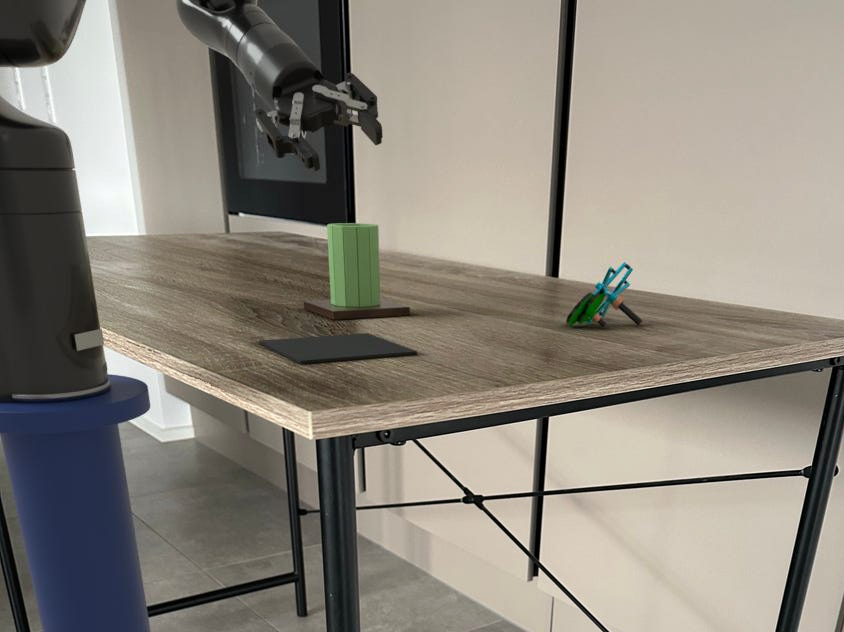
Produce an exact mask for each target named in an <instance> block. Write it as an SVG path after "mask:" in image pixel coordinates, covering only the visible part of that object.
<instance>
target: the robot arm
mask: <svg viewBox="0 0 844 632" xmlns="http://www.w3.org/2000/svg"><path fill="white" fill-rule="evenodd" d="M86 3H87V0H0V68H15V69H16V68H22V69H28V68H29V69H32V68H33V69H34V68H44V67H47V66H50V65H54V64H56V63H57V62H59V61H60V60H61V59H62V58H63V57H64V56H65V55H66V53H67V52H68V51H69V49H70V47H71V46H72V43H73V41H74V39H75V36H76V34H77V31H78V28H79V25H80V21H81V19H82V15H83V12H84V10H85V6H86ZM174 3H175V11H176V14H177V17H178V19H179V21H180V22H181V25H182V26H183V27H184V28H185V29H186V31H187V32H188V33H189V34H190V35H191V36H192V37H193V38H194V39H195V40H197V41H198V42H199V43H201V44H202V45H204V46H206V47H208V48H209V49H211V50H213V51H215V52H218V53H220V54H221V55H223V56H225V57H227V58H229V60H231V62H232V63H233V64H234V65H235V66H236V67H237V69H238V70H239V71H240V72H241V74H243V76H244V78H245V79H246V80H245V81H247V83H248V84H249V86H250V87H251V89H252V90H253V92H255V93H256V94H257V95H258V96H259V98H260V99H261V100H262V101H263V102H264V103H265V104H266V106H267V107H268V108H269V109H270V110H271V111H268V112H266V111H265V109H263V108H256V109H255V110H254V117H255V122H256V127H257V132H258V133H259V134H260V137H262V139H263V140H264V142H265V143H266V144H267V146H268V147H269V148H270V150H271V152H272V153H273V154H274V155H275V157H276V158H277V159H283V158H285V157H286V154H291V155H292V156H295V157H296V158H297V159H298V160H299V161H300V163H301V164H302V165H303V167H305V168H307V169H308V170H312V171H313V172H318V171H320V170H321V162H320V156H319V154H318V152H317V151H316V150H315V149H314V148H313V147H312V145H311V144H310V143H309V142H308V141H307V140H306V136H307V133H308V132H309V133H310V132H311V134H314V133H316V132H317V131H319V130H321V129H322V128H326V127H329V126H332V125H334V124H336V125H339V126H343V127H348V126H349V125H352V126H356V127H360V130H361V131H362V132H363V133H364V135H365V136H366V137H367V138H368V139H369V140H370V142H372V143H373V145H374V146H379V145H381V144H382V143H383V142H382V141H383V140H382V139H383V126H382V124H381V122H380V121H379V120H378V118H379V109H378V96H377V95H376V94H375V93H374V92H373V91H372V90H371V89H370V88H369V87H368V86H367V85H366V84H365V83H364V82H363V81H362V80H360V79H359V78H358V77H357V76H356V75H355V74H354V73H353V72H347V73H345V74H344V81H342V82H340V83H337V84H335V83H332V82H330V81H328V80H327V79H326V78H325V76H324V75H323V73H322V71H321V70H320V69H319V67H318V66H317V65H316V64H315V63H314V62H313V61H312V60H311V58H309V57H308V56H307V54H306V53H305V52H304V51H303V49H302V48H301V47H300V46H299V45H298V44H297V43H296V42H295V41H294V40H293V38H292V37H290V35H288V34H287V33H286V32H284V31H283V30H282V29H281V28H280V27H279V26H278V25H277V24H276V23H275V22H274V20H272V18H271V17H270V16H269V15H268V14H267V13H266V12H265V11H264V10H263V9H262V8H261V7H259V6H258V0H174ZM339 106H340V110H341V113H338V112H339ZM352 111H353V112H357V114H354V113H353V112H352ZM277 123H279V124H280V125H282V126H284V127H288V133H287V134H288V135H283V133H281V131H280V130H279V129H278V127H277ZM73 152H74V151H73V147H72V142H71V139H70V137H69V135H68V134H67V133H66V131H64V130H63V129H62V128H61V127H59V126H57V125H55V124H52V123H50V122H46V121H44V120H41V119H38V118H36V117H34V116H32V115H30V114H27V113H25V112H23V111H22V110H20V109H18V107H15V106H14V105H13V104H11V103H10V102H9V101H8V100H7V99H6V98H4V97H3V96H2V95H1V94H0V403H10V402H20V403H52V402H64V401H73V400H80V399H85V398H90V397H94V396H98V395H101V394H103V393H105V392H107V391H109V390H110V389H111V384H110V379H109V378H108V374H109V373H108V365H107V364H108V363H107V361H106V360H107V359H106V354H105V349H104V345H105V341H104V334H103V329H102V328H101V323H100V318H99V317H100V316H99V312H98V304H97V297H96V292H95V286H94V279H93V273H92V272H93V271H92V266H91V260H90V253H89V248H88V247H89V246H88V242H87V236H86V229H85V224H84V223H85V221H84V216H83V211H82V210H83V208H82V202H81V197H80V190H79V184H78V178H77V177H78V176H77V172H76V170H75V169H76V164H75V159H74V153H73Z"/></svg>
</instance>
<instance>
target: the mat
mask: <svg viewBox="0 0 844 632" xmlns="http://www.w3.org/2000/svg"><path fill="white" fill-rule="evenodd" d="M258 343H259V345H262V346H264V347H266V348H268V349H270V350H271V351H273V352H275V353H278V354H280V355H282V356H283V357H286V358H288V359H290V360H292V361H294V362H296V363H298V364H300V365H305V364H318V363H319V364H320V363H330V362H342V361H353V360H366V359H367V360H368V359H378V358H388V357H389V358H391V357H402V356H413V355H415V356H416V355H418V351H417V350H414V349H412V348H409V347H406V346H403V345H401V344H398V343H395V342H392V341H390V340H387V339H385V338H381V337H379V336H377V335H373V334H371V333H368V332H362V333H349V334H348V333H347V334H336V335H322V336H321V335H320V336H307V337H306V336H305V337H304V336H303V337H292V338H279V339H278V338H277V339H264V340H259V341H258Z"/></svg>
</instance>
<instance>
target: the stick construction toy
mask: <svg viewBox="0 0 844 632" xmlns="http://www.w3.org/2000/svg"><path fill="white" fill-rule="evenodd" d="M608 267H609V268H608V270H607V271H606V273H605V275H604V278H603V280H602V282H600V281H598V282H597V283H596V284H595V286H594V288H595V289H596V290H595V291H594V292H592V291H589V292H587V293H586V294H585V295H584V296H583V297H582V298H581V299H580V300H579V301H578V302H577V303H576V304H575V306H574V307H573V308H572V310H571V311H570V312H569V313H568V315H567V317H566V319H565V320H566V321H565V323H566V325H568V326H569V327H572V326H573V325H575V324H576V323H578V324H579V325H582V324H583V323H585V322H586V323H587V324H588V325H590V324H592V322H594V323H595V324H596V325H600V326H601V327H602V328H605V327H606V326H607V322H606V320H604V319H603V318H605V317H606V315H607V313H608V311H609V309H610V307H612V308H613V309H614V310H616V311H617V310H620V311H621V312H622V313H623V314H625V315H626V316H627V317H628V318H629V319H630V320H631V321H632V322H633V323H635V324H636V325H637V326H640V325H641V324H642V323H643V319H642V318H641V317H640V316H638V315H637V314H636V313H635V312H634V311H633V310H632V309H631V308H629V307H628V305H626V304H625V300H624V298H623V297H621V296H620V294H621V293H623V292H624V291H626V289H628V288H629V287H630V286H631V283H630V282H629V281H628V280H627V279H628V278H629V276H630V275H631V274H632V272H633V270H634V268H633V267H631V266H630V265H629V264H627V263H626V262H625V261H623V263H622V264H621V265H620V266H619V267H618V268H617V269H614V268H613V267H612V266H608ZM624 268H625V269H626V272H625V273H624V275H623V277H622V278H621V279H620V281H619V282H618V283H617V285H616V286H615V288H614V289H613V290H612V291H610V290H609V289H608V287H609V285H610V284H611V283H612V282H613V281H614V280H615V279H616V277H618V276H619V274H620V273H621V272H622V271H623V270H624ZM605 298H606V299H605Z"/></svg>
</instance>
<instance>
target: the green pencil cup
mask: <svg viewBox="0 0 844 632" xmlns="http://www.w3.org/2000/svg"><path fill="white" fill-rule="evenodd" d="M326 232H327V233H326V234H327V250H328V251H327V253H328V254H327V255H328V267H329V268H328V269H329V271H328V272H329V273H328V274H329V288H330V289H329V290H330V291H329V293H330V300H331V304H333V305H336V306H343V307H371V306H377V305H380V303H381V299H382V298H381V270H380V269H381V266H380V264H381V263H380V234H379V233H380V232H379V224H375V223H361V222H360V223H359V222H357V223H356V222H349V223H348V222H347V223H346V222H343V223H342V222H341V223H340V222H339V223H328V224H327V225H326Z"/></svg>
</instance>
